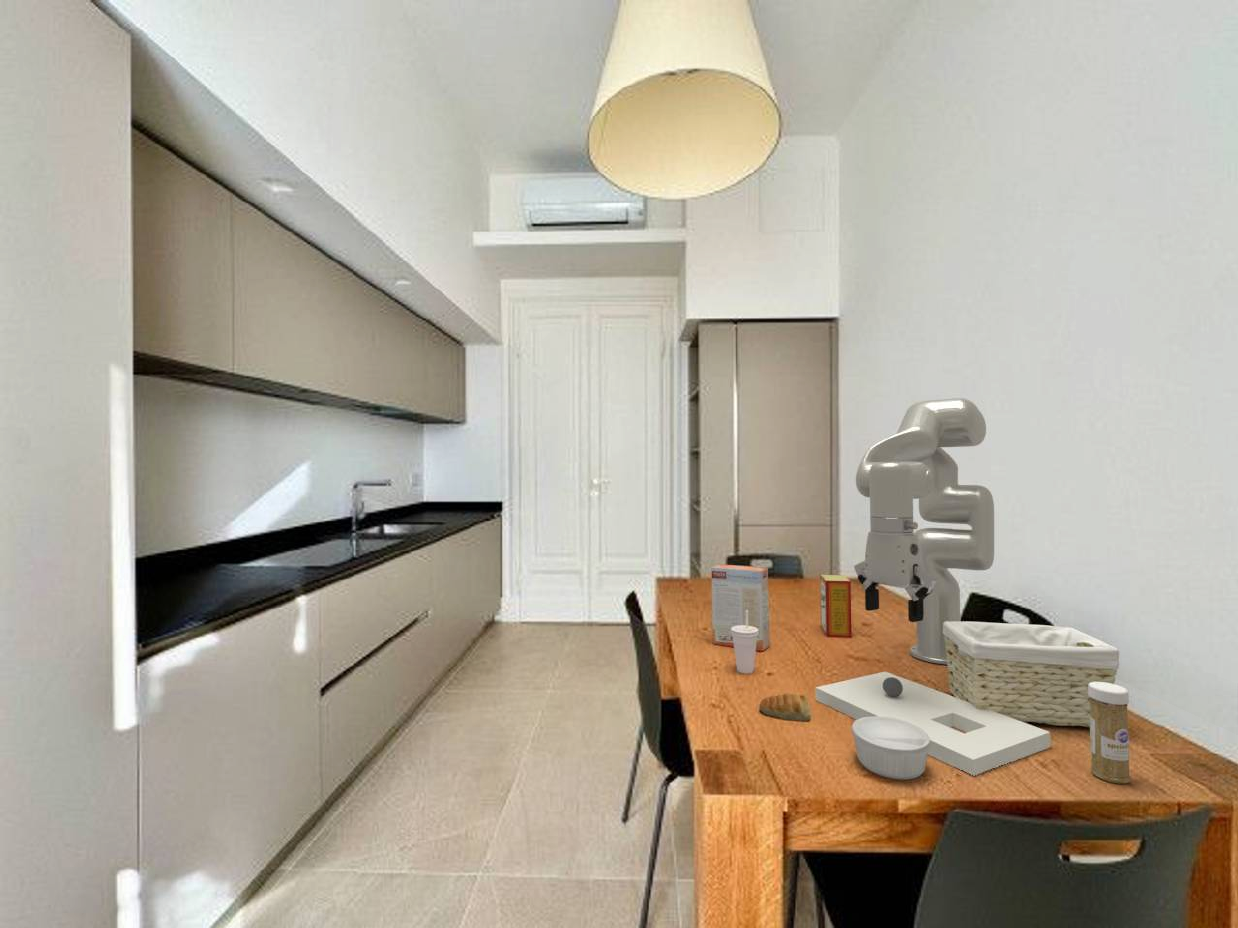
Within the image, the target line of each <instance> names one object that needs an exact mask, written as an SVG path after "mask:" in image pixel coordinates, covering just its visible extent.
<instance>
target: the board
mask: <svg viewBox="0 0 1238 928" xmlns="http://www.w3.org/2000/svg"><path fill="white" fill-rule="evenodd" d="M889 677H893V678H896V679H898V680H899V681H900V682H901V684H902V686H903V691H902V693H901V694H900V695H899V696H897V697H892V696H889V695H888V694H886V693H885V691H884V689H883V682H884V680H885V679H887V678H889ZM814 689H815V690H814V691H815V695H814V696H815V701H817V702H819V703H821V704H823V705H825V706H827V707H830V708H831V709H833V710H836V712H837V711H838V712H839V713H842V714H844V715H846V716H848V717H850V718H852V719H854V720H855V721H856V720H858V719H860V718H863V717H874V716H877V717H889V718H895V719H899V720H902V721H906V722H908V723H911V724H913V725H915V726H917V727H919V728H921V729H922V730H923V731H925V732H926V733H927V734H928V736H929V738H930V747H929V749H928V754H927V756H930V757H933V758H935V759H937V760H939V761H941V762H943V763H945V764H947V765H949V766H951V767H953V768H955V767H956V768H955V769H957V768H958V769H957V770H959V769H960V770H959V771H961V770H963V771H965V772H967V773H969V774H971V775H970V776H972V775H973V776H972V777H975V775H976V776H978V774H979V775H981V774H983V773H982V772H984V771H987V770H989V771H991V770H990V769H992V768H995V767H997V768H1000V767H1002V766H1001V765H1003V766H1005V765H1008V764H1010V763H1009V762H1011V763H1013V762H1015V761H1018V759H1019V760H1021V759H1024V758H1027V757H1028V756H1029V757H1030V756H1032V755H1033V754H1034V755H1035V754H1037V753H1039V752H1042V751H1045V750H1048V749H1050V748H1051V745H1052V744H1051V731H1048V730H1046V729H1043V728H1040V727H1037V726H1034V725H1032V724H1029V723H1028V722H1021V721H1018V720H1016V719H1013V718H1010V717H1008V716H1005V715H1002V714H999V713H997V712H994V711H991V710H985V709H977V708H975V706H974V705H973V704H972V703H969V702H967V701H964V700H961V699H959V698H956V697H955V696H954V695H953V696H952V695H950V694H947V693H944V692H942V691H940V690H936V689H934V688H931V687H929V686H927V685H924V684H923V685H922V684H920V683H917V682H915V681H912V680H909V679H907V678H904V677H901V676H898V675H895V674H893V673H890V672H888V671H882V672H876V673H873V674H868V675H864V676H860V677H859V676H858V677H856V678H851V679H847V680H842V681H838V682H833V683H828V684H823V685H821V686H816V687H814ZM956 729H958V730H956ZM959 730H960V731H959ZM961 731H963V732H964V733H963V732H961ZM1007 763H1008V764H1007ZM1004 764H1005V765H1004ZM999 766H1000V767H999ZM995 769H996V768H995ZM992 770H993V769H992ZM963 771H962V772H963ZM965 772H964V773H965ZM987 772H988V771H987ZM967 773H966V774H967ZM980 773H981V774H980ZM984 773H985V772H984ZM969 774H968V775H969Z"/></svg>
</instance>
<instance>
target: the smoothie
mask: <svg viewBox="0 0 1238 928" xmlns="http://www.w3.org/2000/svg"><path fill="white" fill-rule="evenodd" d="M731 634H732V636H733V643H734V647H733V649H734V656H735V662H736V663H735V664H736V672H738V673H740V674H752V673H754V671H755V670H754V669H755V660H756V659H755V658H756V643H757V635H758V634H759V632H758V629H757V628H756V627H753V626H748V610H746V625H739V626H733V627H732V628H731Z"/></svg>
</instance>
